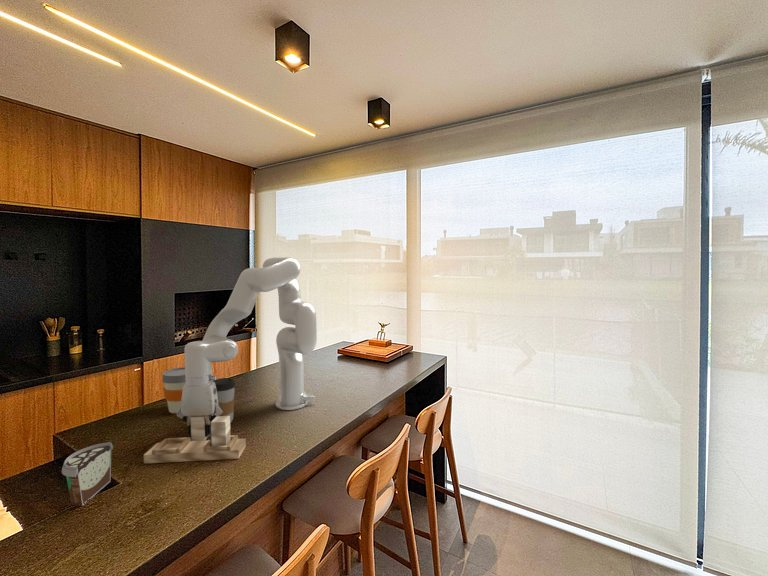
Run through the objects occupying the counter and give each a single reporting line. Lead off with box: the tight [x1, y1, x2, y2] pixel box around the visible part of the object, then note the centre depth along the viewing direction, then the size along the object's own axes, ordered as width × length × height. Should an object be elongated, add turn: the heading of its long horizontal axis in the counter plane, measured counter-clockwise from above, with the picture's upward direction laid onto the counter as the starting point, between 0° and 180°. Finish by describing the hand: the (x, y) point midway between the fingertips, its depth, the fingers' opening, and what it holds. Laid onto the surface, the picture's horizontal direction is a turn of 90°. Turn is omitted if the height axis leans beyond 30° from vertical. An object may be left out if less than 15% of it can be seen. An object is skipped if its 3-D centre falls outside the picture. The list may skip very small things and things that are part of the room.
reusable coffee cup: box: [162, 366, 186, 414], centre depth 137 cm, size 13×13×15 cm
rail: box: [143, 416, 247, 465], centre depth 103 cm, size 26×7×10 cm, turn 96°
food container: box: [61, 441, 114, 507], centre depth 85 cm, size 12×6×10 cm, turn 5°
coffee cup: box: [212, 377, 236, 424], centre depth 125 cm, size 8×8×15 cm
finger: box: [191, 416, 210, 441], centre depth 113 cm, size 5×4×8 cm
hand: (200, 434), depth 113 cm, fingers closed on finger, 4 cm apart
